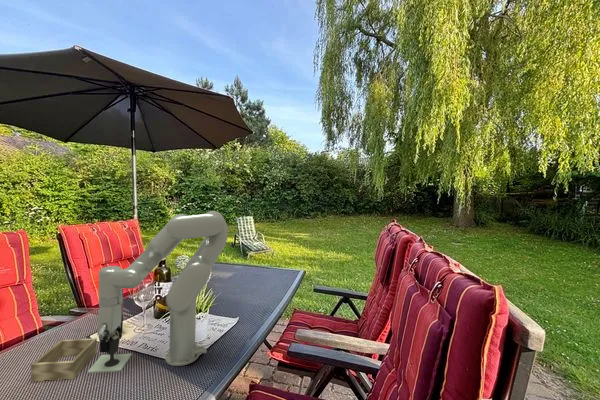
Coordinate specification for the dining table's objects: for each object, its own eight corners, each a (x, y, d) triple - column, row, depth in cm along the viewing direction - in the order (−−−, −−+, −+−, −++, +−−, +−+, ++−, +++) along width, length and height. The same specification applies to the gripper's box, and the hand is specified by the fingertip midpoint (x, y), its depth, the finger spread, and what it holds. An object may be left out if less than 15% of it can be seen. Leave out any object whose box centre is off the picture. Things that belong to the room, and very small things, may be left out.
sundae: (117, 356, 123) (117, 318, 122) (125, 362, 119) (125, 324, 118) (98, 363, 118) (98, 324, 117) (105, 370, 114) (105, 330, 113)
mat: (131, 355, 125) (131, 353, 125) (120, 371, 114) (120, 369, 114) (101, 356, 123) (101, 355, 123) (87, 373, 113) (87, 371, 113)
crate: (96, 353, 126) (96, 338, 126) (73, 379, 109) (73, 362, 109) (60, 355, 124) (60, 340, 123) (31, 382, 107) (31, 364, 107)
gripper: (109, 292, 126) (109, 334, 126) (88, 309, 109) (88, 358, 109) (130, 291, 127) (129, 333, 128) (112, 308, 110) (111, 356, 111)
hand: (110, 344), depth 119 cm, fingers open, 9 cm apart
